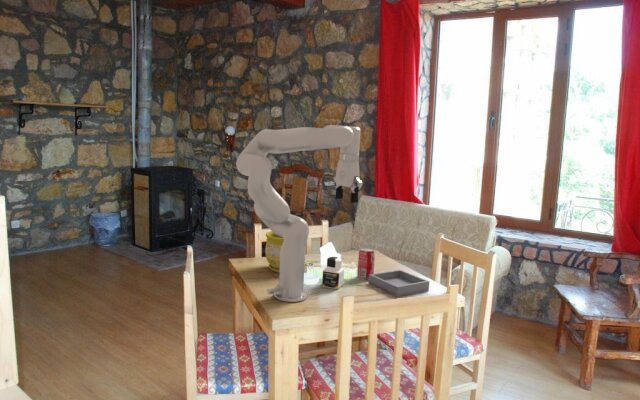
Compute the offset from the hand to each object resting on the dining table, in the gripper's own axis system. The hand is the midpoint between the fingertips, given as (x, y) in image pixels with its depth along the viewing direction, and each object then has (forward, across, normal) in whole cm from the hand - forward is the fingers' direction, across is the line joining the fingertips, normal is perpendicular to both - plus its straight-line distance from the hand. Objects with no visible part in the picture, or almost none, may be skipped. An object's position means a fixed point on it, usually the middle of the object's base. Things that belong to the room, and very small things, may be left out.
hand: (346, 200), depth 206 cm
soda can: (+37, -7, +19) cm, 42 cm away
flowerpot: (+37, -32, -8) cm, 49 cm away
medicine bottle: (+37, -4, -1) cm, 37 cm away
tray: (+37, +9, +24) cm, 45 cm away
